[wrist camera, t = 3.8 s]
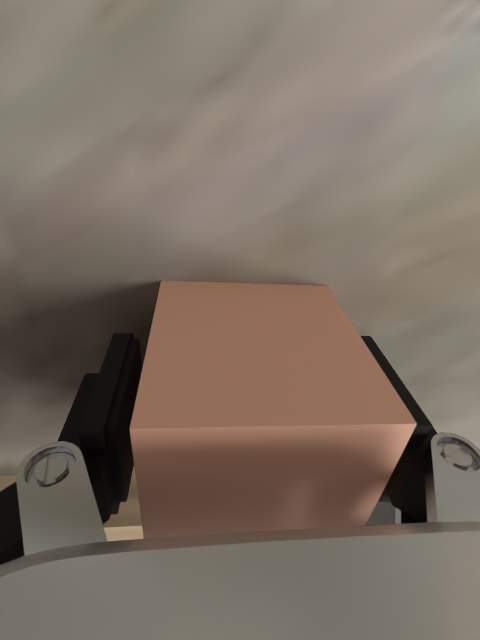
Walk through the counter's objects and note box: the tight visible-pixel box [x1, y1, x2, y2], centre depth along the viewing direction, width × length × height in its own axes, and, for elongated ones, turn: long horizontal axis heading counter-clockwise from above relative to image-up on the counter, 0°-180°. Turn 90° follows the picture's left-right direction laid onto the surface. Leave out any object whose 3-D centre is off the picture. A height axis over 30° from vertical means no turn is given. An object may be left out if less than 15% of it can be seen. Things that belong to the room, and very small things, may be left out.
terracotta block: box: [130, 280, 417, 539], centre depth 11 cm, size 6×6×6 cm
